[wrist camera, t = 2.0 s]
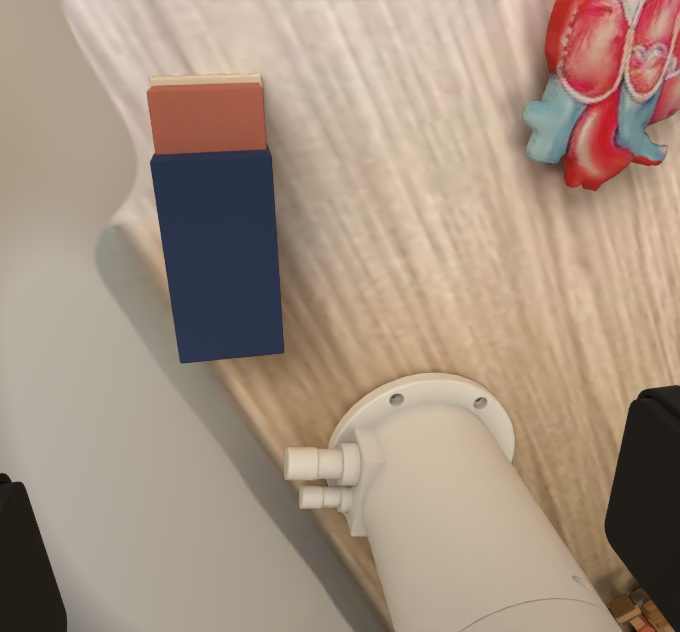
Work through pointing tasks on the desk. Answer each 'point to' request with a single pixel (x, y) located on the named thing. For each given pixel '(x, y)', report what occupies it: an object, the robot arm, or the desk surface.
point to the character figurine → (639, 612)
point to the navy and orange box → (217, 214)
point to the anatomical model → (605, 86)
